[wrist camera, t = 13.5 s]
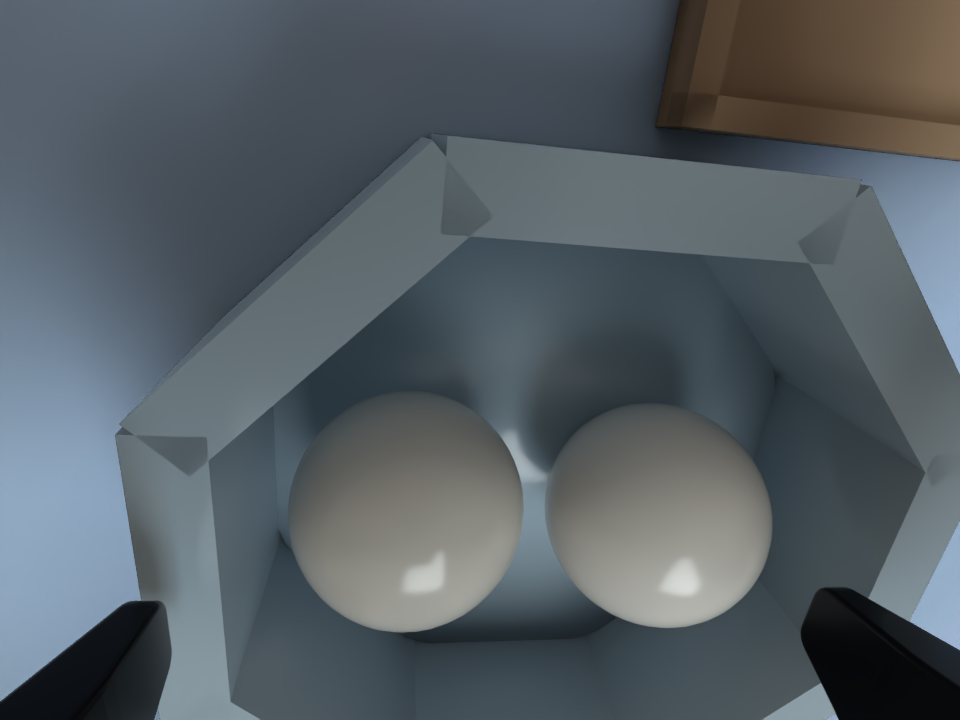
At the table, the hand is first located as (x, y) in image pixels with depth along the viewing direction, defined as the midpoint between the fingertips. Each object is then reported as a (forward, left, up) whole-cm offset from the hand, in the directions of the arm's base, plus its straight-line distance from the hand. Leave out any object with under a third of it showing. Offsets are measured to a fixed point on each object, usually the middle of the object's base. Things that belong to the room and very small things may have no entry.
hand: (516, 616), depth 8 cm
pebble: (0, 0, -1) cm, 1 cm away
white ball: (-2, 0, -4) cm, 4 cm away
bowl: (-1, 0, -4) cm, 5 cm away
